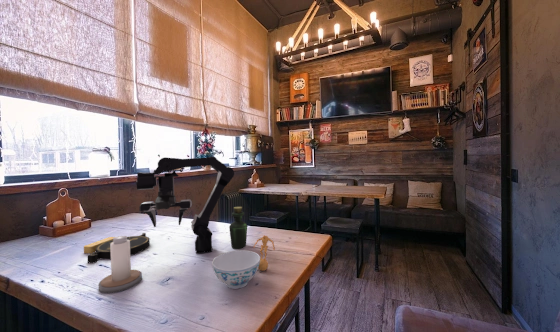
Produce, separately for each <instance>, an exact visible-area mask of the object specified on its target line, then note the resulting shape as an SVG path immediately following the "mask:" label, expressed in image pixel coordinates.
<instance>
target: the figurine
mask: <svg viewBox="0 0 560 332" xmlns="http://www.w3.org/2000/svg"><path fill="white" fill-rule="evenodd" d="M260 241H261V243H262V244H261V245H260V249H259V253H260V254H261V256H260V263H259V267H258V270H259V271H261V272H264V271H266V270H268V267H269V262H268V260H267V259H266V258H267V252H268V248H269V245H268V242H271V243H272V250H273V251H275V250H276V249H275V244H274V241H273V240H272V239H271V238H269V236H268V235H264V234H263V235H262V237H260V238H257V240H256V242H255V243H254V245H253V248H255V247H256V245H257V244H258V242H260ZM263 251H264V253H263ZM263 254H264V258H263Z"/></svg>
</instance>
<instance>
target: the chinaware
mask: <svg viewBox="0 0 560 332" xmlns="http://www.w3.org/2000/svg"><path fill="white" fill-rule="evenodd" d="M260 258H261V256H260V255H259V254H258V253H257V252H255V251H252V250H244V249H243V250H242V249H236V250H231V251H227V252H223V253H221V254H218V255H216V256H215V257H214V258H213V260H212V263H211V266H212V269H213V272H214V274H215V275H216V277H217V279H219V281H220V282H222V283H224V285H226V287H227V288H229V289H231V290H232V289H233V290H235V289H236V290H237V289H242V288H244V287H245V286H247V285H248V283H249V281H251V280H252V279H253V277H254V276H255V275H256V273H257V272H258V270H259V269H258V267H259V263H260Z"/></svg>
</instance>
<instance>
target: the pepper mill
mask: <svg viewBox="0 0 560 332" xmlns="http://www.w3.org/2000/svg"><path fill="white" fill-rule="evenodd" d="M114 237H115V238H113V242H112V243H111V244H110V249H111V259H110V268H111V269H110V272H111V274H110V275H111V277H112V281H122V280H125V279H127V278H129V277H130V276H131V270H132V269H131V268H132V265H131V264H132V263H131V255H130V240H127V237H128V236H127V235H120V236H114Z"/></svg>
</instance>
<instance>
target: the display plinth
mask: <svg viewBox="0 0 560 332" xmlns="http://www.w3.org/2000/svg"><path fill="white" fill-rule="evenodd" d="M142 280H143V273H142V271H140V270H138V269H131V276H130V277H129V278H127V279H125V280H122V281H112V277H111V274H109V275H106V276H105V277H104V278H102V279H101V280H100V281H99V283H98V292H100V293H102V294H115V293H119V292H122V291H126V290H129V289H131V288H134V287H135V286H137V285H138V284H139V283H141V282H142Z"/></svg>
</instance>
